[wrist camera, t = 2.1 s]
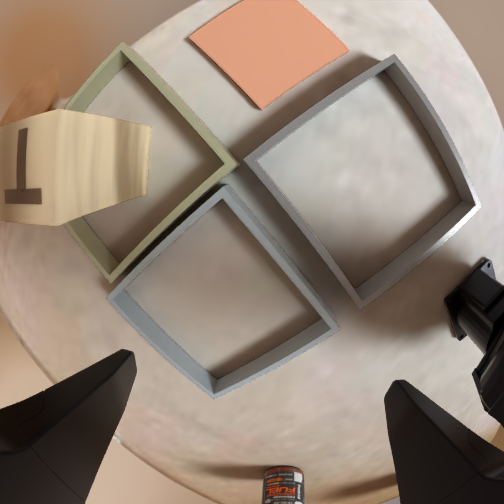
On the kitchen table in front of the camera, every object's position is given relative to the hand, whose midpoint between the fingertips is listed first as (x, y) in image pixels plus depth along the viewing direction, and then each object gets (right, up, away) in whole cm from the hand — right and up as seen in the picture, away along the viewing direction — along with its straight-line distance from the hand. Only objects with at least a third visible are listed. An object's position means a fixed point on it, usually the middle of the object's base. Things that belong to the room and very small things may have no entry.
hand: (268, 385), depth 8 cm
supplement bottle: (+4, -28, +22) cm, 36 cm away
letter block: (-10, +11, +10) cm, 18 cm away
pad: (+1, +19, +7) cm, 20 cm away
